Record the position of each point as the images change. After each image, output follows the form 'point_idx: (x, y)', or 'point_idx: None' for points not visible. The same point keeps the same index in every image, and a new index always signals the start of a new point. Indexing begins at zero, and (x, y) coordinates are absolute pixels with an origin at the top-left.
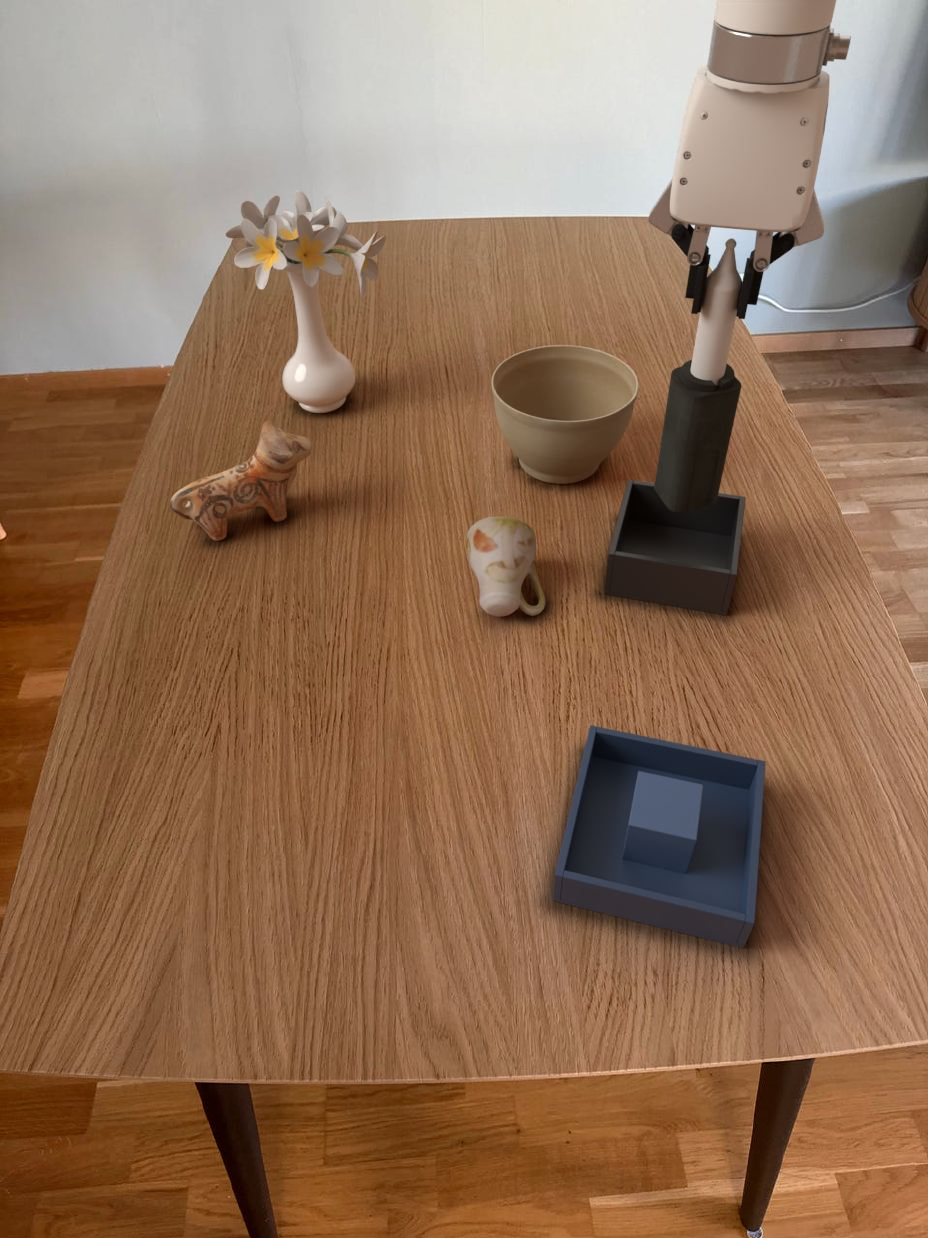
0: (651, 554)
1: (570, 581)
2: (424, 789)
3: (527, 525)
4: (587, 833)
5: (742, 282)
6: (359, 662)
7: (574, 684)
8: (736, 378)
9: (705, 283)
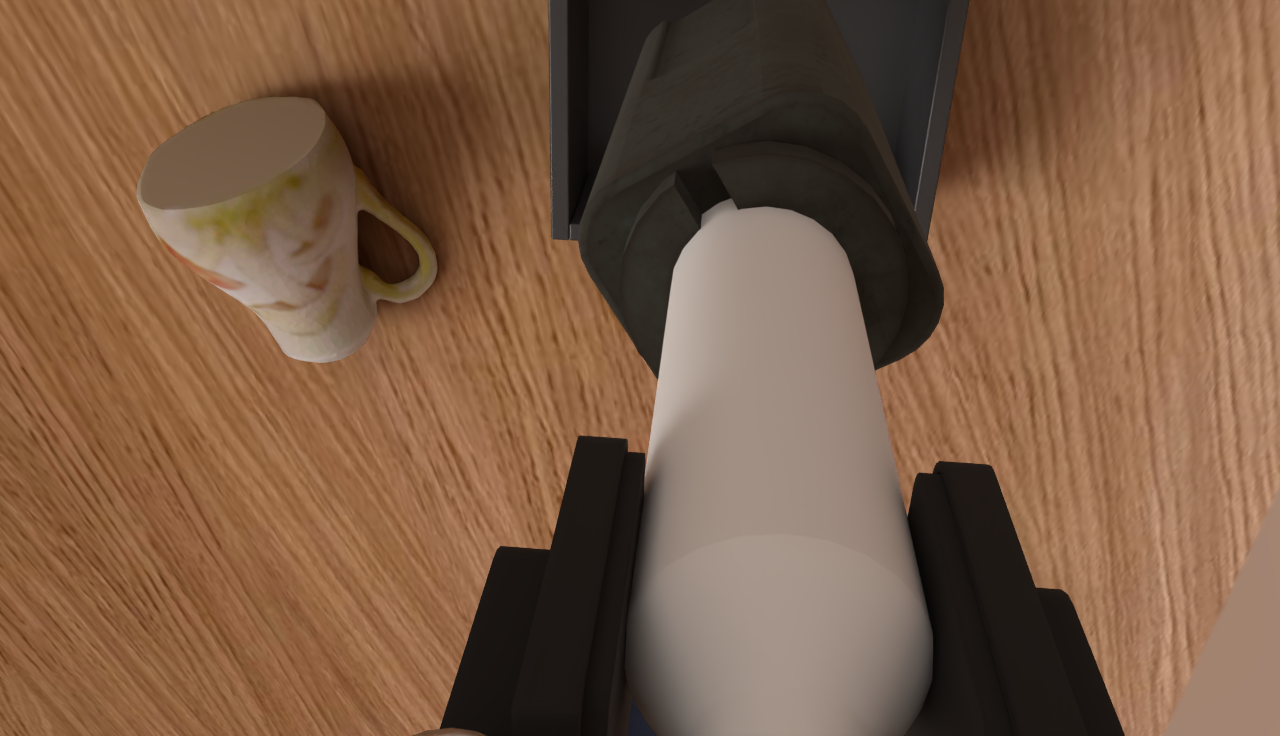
0: (684, 7)
1: (477, 150)
2: (368, 679)
3: (289, 180)
4: (642, 725)
5: (929, 722)
6: (120, 469)
7: (561, 455)
8: (922, 255)
9: (624, 696)
